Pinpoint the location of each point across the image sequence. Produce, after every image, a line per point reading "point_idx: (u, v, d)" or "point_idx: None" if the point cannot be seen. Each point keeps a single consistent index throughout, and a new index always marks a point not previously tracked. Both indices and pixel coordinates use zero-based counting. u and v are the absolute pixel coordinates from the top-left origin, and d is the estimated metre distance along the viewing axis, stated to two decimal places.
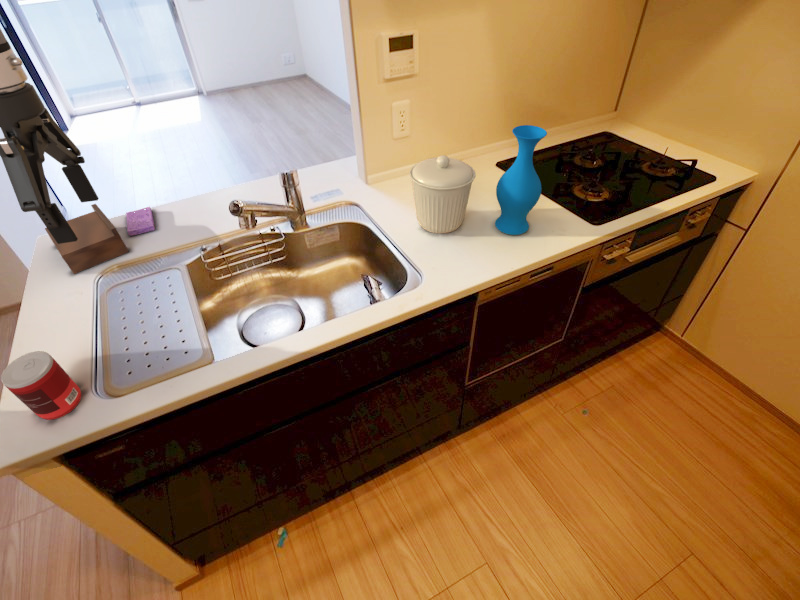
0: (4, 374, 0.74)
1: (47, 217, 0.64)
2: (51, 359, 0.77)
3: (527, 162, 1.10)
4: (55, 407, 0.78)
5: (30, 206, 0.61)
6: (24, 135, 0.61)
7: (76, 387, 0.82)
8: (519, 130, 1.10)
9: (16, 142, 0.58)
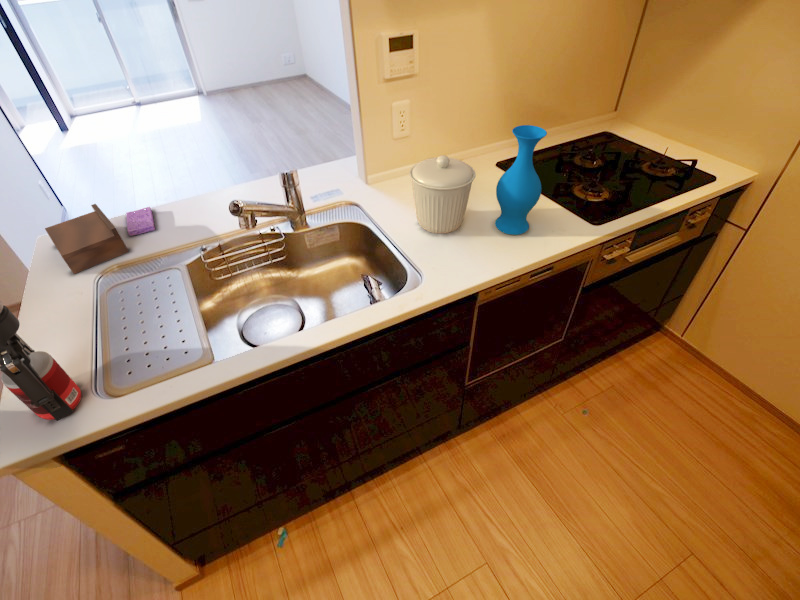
0: (4, 374, 0.74)
1: (51, 403, 0.76)
2: (51, 359, 0.77)
3: (527, 162, 1.10)
4: None
5: (44, 401, 0.73)
6: (12, 349, 0.69)
7: (76, 387, 0.82)
8: (519, 129, 1.10)
9: (21, 361, 0.68)
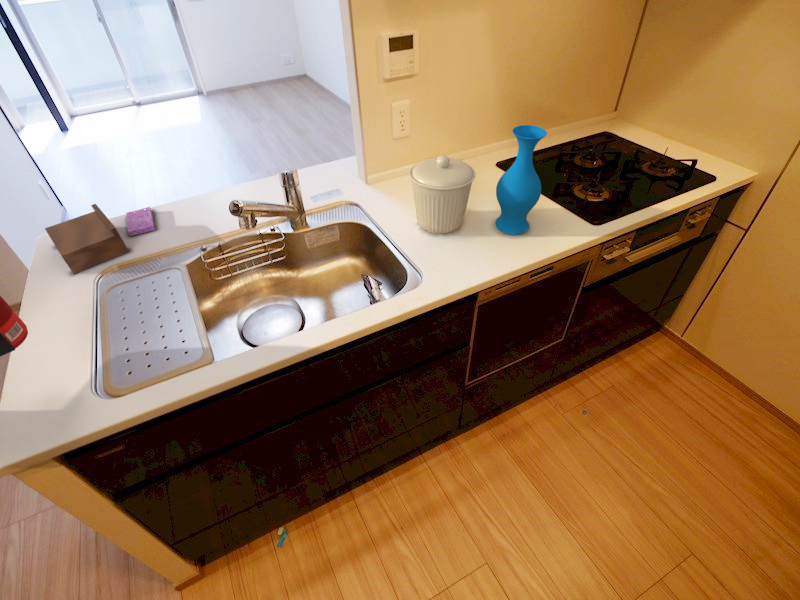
0: None
1: None
2: None
3: (527, 162, 1.10)
4: None
5: None
6: None
7: (21, 322, 0.71)
8: (519, 129, 1.10)
9: None
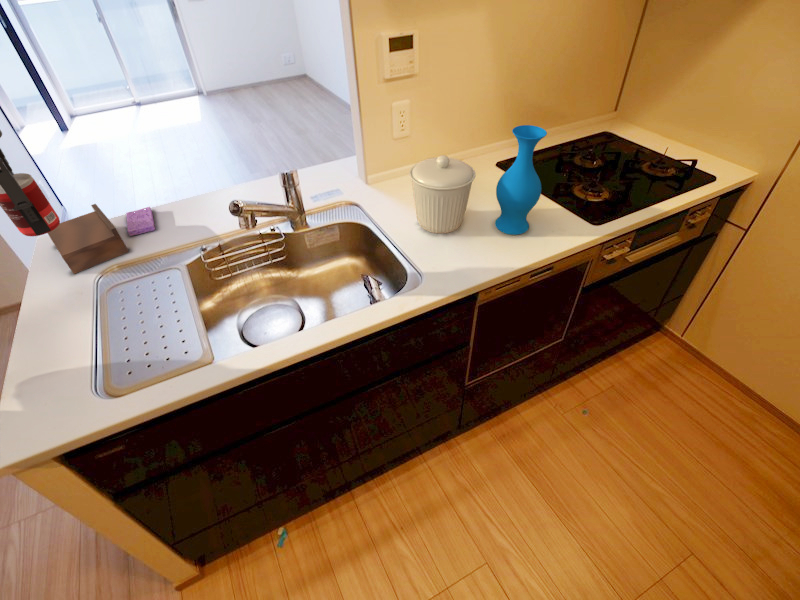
0: None
1: (31, 213, 0.87)
2: (31, 178, 0.89)
3: (527, 162, 1.10)
4: None
5: (23, 205, 0.84)
6: None
7: (55, 213, 0.94)
8: (519, 129, 1.10)
9: (2, 161, 0.80)
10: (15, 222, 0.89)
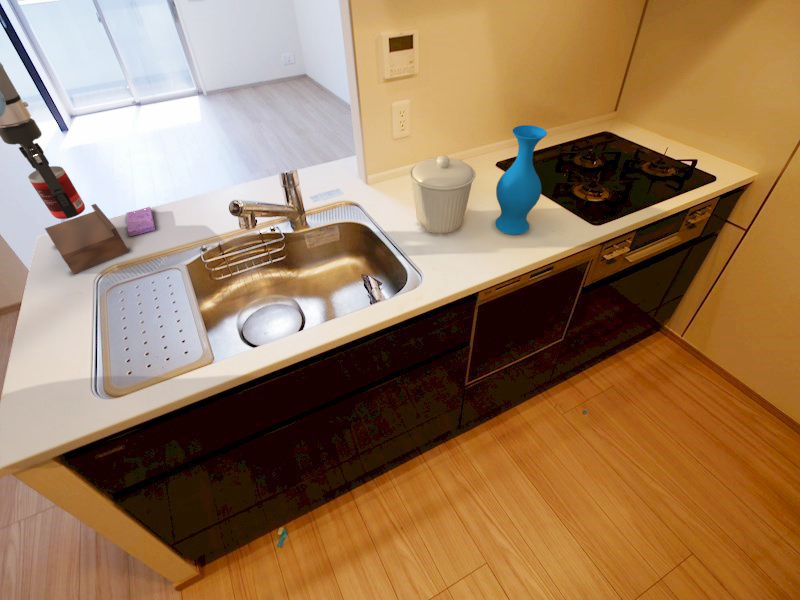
0: (30, 176, 1.04)
1: (63, 199, 1.05)
2: (63, 170, 1.07)
3: (527, 162, 1.10)
4: None
5: (58, 192, 1.03)
6: (37, 148, 0.99)
7: (81, 199, 1.12)
8: (519, 129, 1.10)
9: (43, 155, 0.98)
10: (49, 207, 1.07)
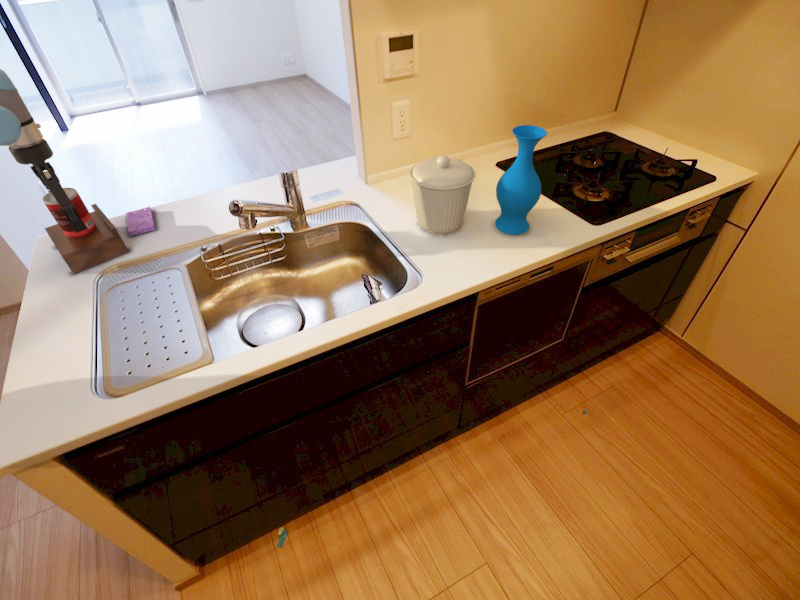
0: (44, 197, 1.08)
1: (72, 215, 1.06)
2: (76, 191, 1.11)
3: (527, 162, 1.10)
4: None
5: (67, 207, 1.03)
6: (48, 168, 1.02)
7: (92, 219, 1.16)
8: (519, 129, 1.10)
9: (52, 171, 1.01)
10: (62, 227, 1.11)
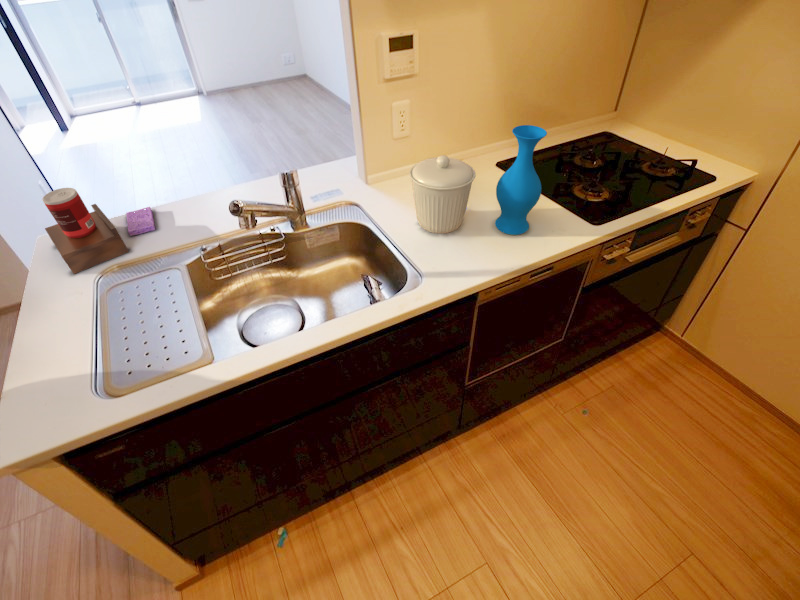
0: (44, 197, 1.08)
1: None
2: (76, 191, 1.11)
3: (527, 162, 1.10)
4: (78, 227, 1.12)
5: None
6: None
7: (92, 219, 1.16)
8: (519, 129, 1.10)
9: None
10: (62, 227, 1.11)
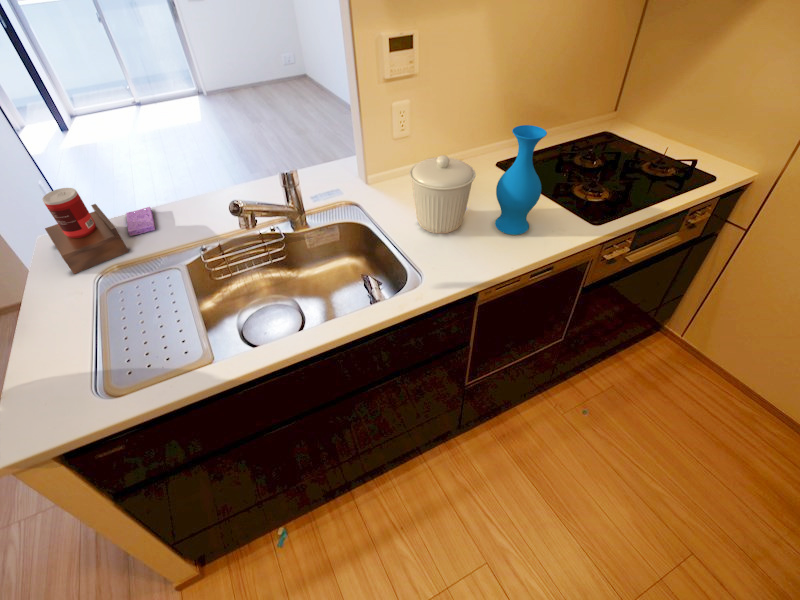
0: (44, 197, 1.08)
1: None
2: (76, 191, 1.11)
3: (527, 162, 1.10)
4: (78, 227, 1.12)
5: None
6: None
7: (92, 219, 1.16)
8: (519, 129, 1.10)
9: None
10: (62, 227, 1.11)
